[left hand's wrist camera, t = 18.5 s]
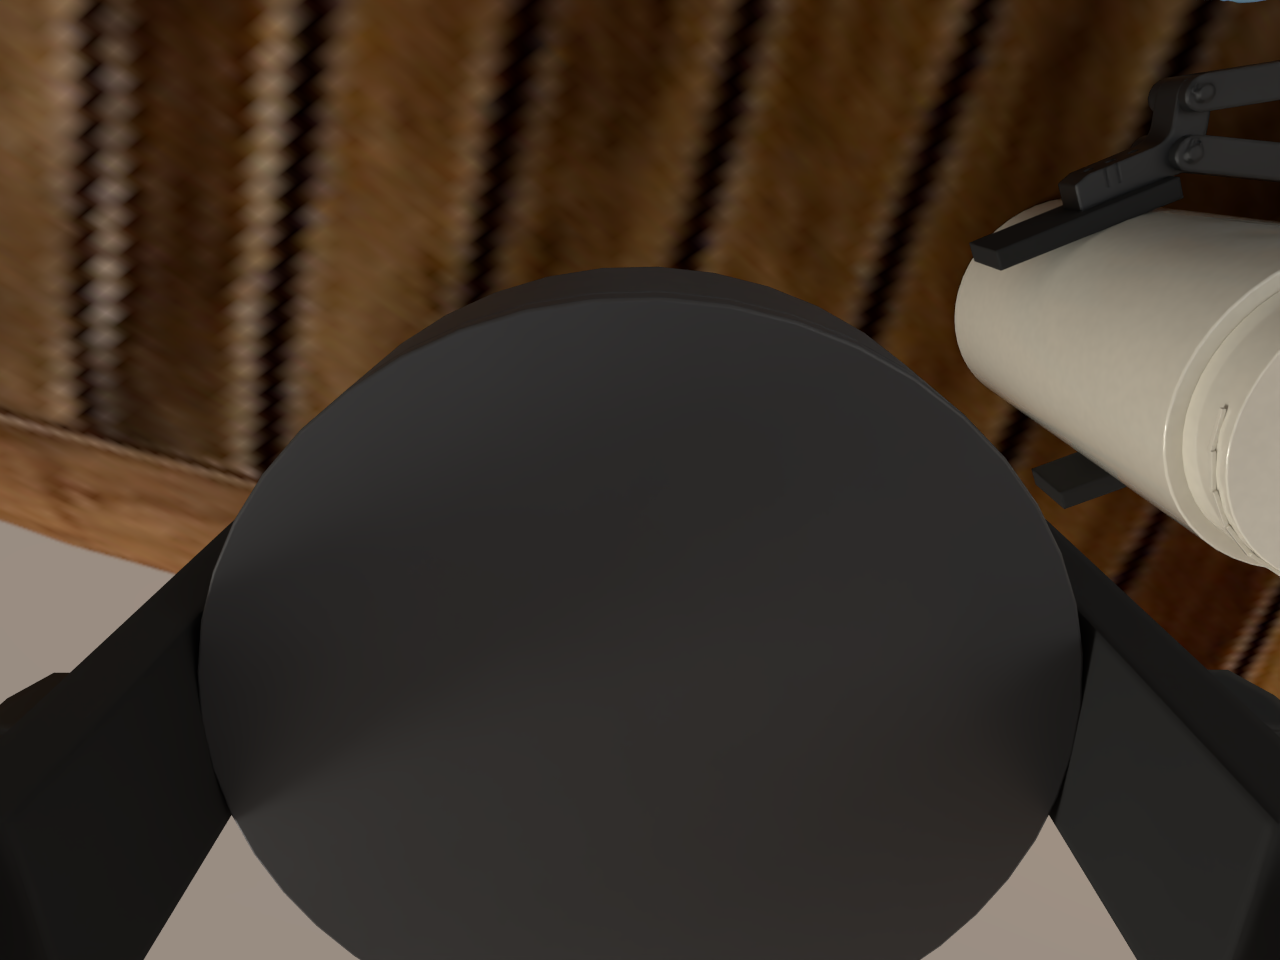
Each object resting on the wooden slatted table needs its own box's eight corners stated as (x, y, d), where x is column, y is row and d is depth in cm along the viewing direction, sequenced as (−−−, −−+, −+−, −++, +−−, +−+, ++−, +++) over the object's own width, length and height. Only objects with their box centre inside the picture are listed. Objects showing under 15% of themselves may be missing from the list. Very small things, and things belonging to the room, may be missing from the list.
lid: (941, 921, 14) (993, 1056, 12) (309, 900, 14) (251, 1034, 12) (1081, 285, 11) (1190, 320, 8) (229, 247, 10) (125, 275, 8)
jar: (912, 341, 40) (1129, 499, 22) (1045, 154, 38) (1415, 166, 20) (1069, 439, 42) (1387, 660, 24) (1207, 268, 39) (1685, 374, 21)
